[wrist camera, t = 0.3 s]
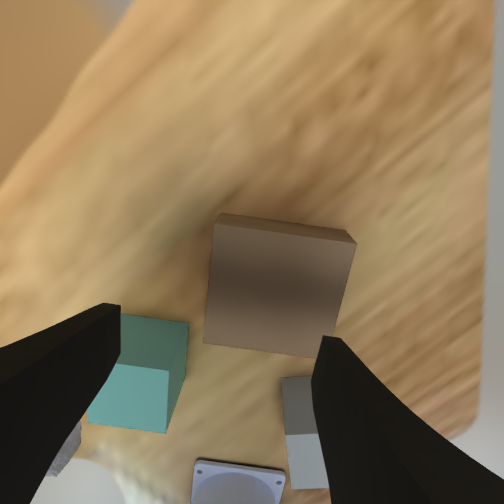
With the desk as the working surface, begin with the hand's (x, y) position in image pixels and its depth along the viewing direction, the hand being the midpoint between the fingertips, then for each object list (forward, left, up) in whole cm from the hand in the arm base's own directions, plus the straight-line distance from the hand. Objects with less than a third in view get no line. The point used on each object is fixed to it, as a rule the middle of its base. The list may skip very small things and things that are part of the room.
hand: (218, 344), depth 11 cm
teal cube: (-9, +6, -10) cm, 15 cm away
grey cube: (-12, -7, -10) cm, 17 cm away
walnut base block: (-2, -2, -10) cm, 11 cm away
